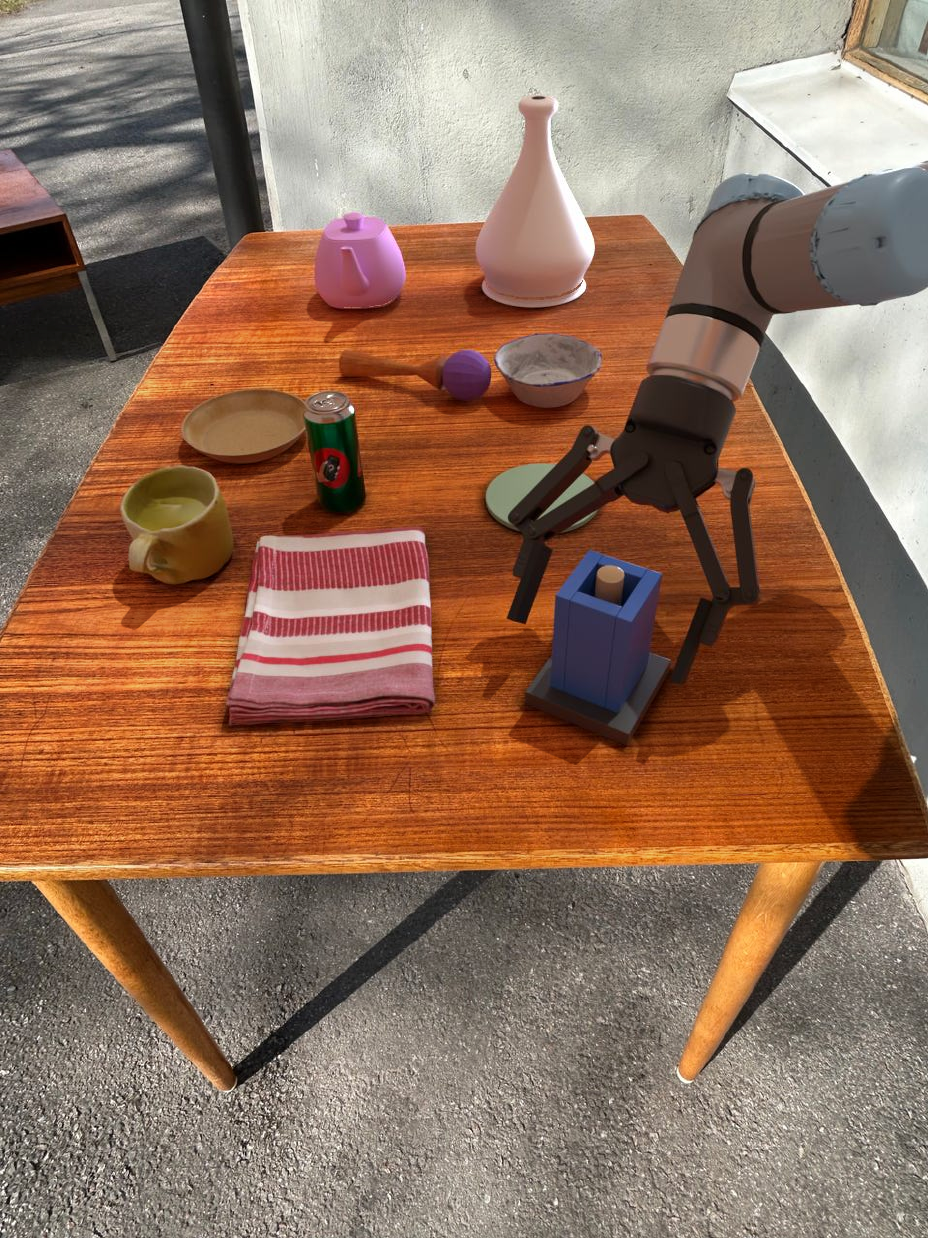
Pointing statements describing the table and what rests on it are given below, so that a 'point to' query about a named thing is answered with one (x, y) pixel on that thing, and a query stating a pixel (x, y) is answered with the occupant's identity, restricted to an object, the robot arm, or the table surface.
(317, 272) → the teapot
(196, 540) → the mug
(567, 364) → the bowl
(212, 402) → the plant saucer
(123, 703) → the table surface
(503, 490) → the coaster
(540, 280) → the vase
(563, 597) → the sleeve
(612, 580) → the dowel stand
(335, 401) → the soda can
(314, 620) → the dish towel
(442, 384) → the purple maraca
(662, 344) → the robot arm
